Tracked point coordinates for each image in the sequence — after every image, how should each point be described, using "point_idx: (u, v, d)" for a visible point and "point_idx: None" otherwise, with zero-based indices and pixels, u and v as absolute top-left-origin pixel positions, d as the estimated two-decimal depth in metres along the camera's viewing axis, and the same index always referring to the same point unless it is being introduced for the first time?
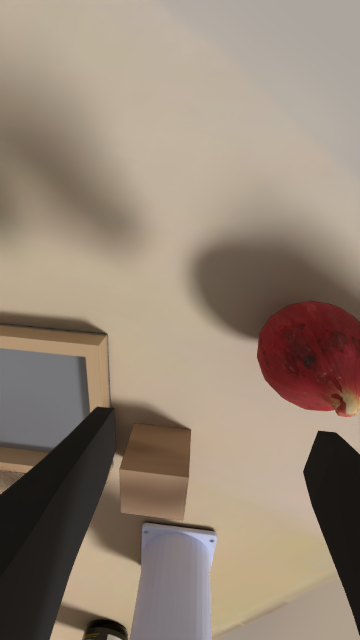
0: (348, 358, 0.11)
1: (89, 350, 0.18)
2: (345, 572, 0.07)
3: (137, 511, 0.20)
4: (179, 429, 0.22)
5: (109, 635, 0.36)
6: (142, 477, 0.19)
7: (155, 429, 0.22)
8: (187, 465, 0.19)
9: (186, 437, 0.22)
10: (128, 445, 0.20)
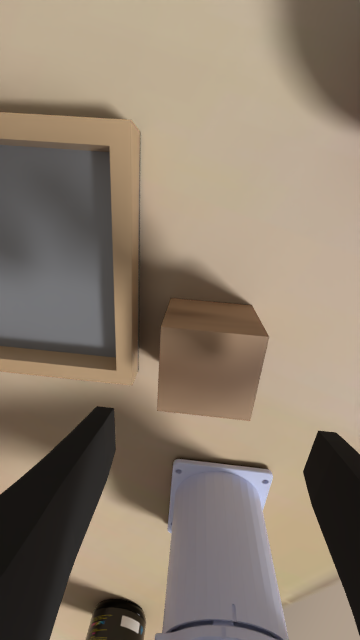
0: None
1: (116, 130, 0.11)
2: (345, 572, 0.07)
3: (182, 407, 0.14)
4: (235, 304, 0.16)
5: (123, 617, 0.30)
6: (195, 341, 0.12)
7: (202, 303, 0.16)
8: (261, 328, 0.13)
9: (248, 309, 0.15)
10: (168, 311, 0.14)
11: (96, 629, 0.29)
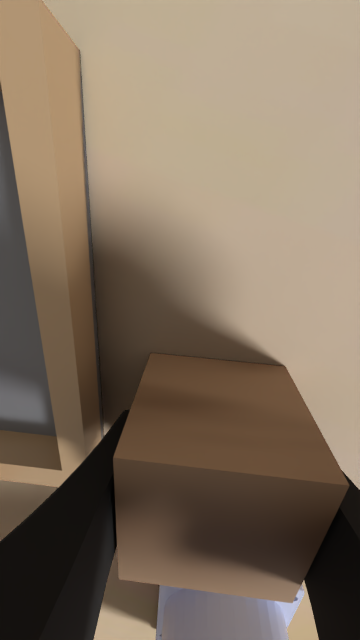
0: None
1: (8, 24, 0.05)
2: None
3: (165, 578, 0.07)
4: (258, 367, 0.09)
5: None
6: (187, 484, 0.06)
7: (202, 365, 0.09)
8: (323, 446, 0.06)
9: (283, 381, 0.09)
10: (139, 395, 0.07)
11: None
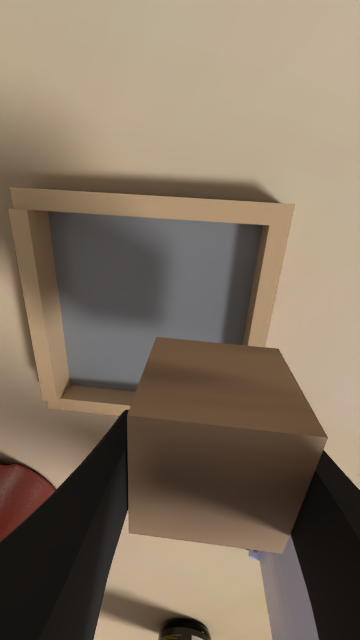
0: None
1: (279, 212, 0.12)
2: (306, 567, 0.07)
3: (170, 531, 0.08)
4: (254, 349, 0.10)
5: (193, 637, 0.31)
6: (189, 439, 0.07)
7: (203, 347, 0.10)
8: (307, 409, 0.07)
9: (276, 360, 0.10)
10: (147, 369, 0.08)
11: None
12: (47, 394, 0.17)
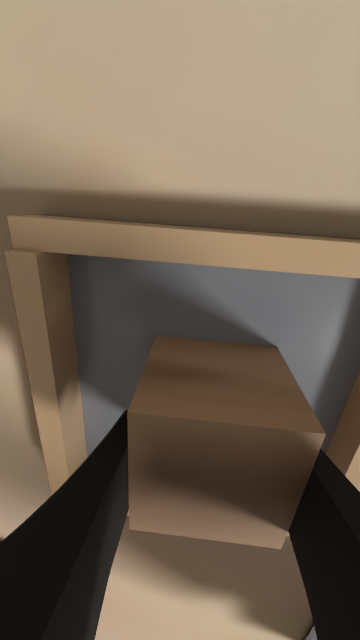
0: None
1: None
2: (305, 567, 0.07)
3: (170, 527, 0.08)
4: (253, 347, 0.10)
5: None
6: (189, 436, 0.07)
7: (202, 345, 0.10)
8: (306, 406, 0.07)
9: (275, 358, 0.10)
10: (147, 367, 0.09)
11: None
12: None
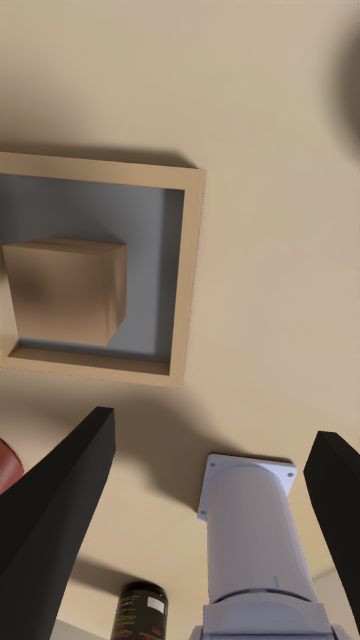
0: None
1: (192, 177, 0.14)
2: (345, 572, 0.07)
3: (41, 332, 0.14)
4: (110, 243, 0.16)
5: (149, 598, 0.32)
6: (36, 260, 0.13)
7: (77, 240, 0.16)
8: (106, 252, 0.13)
9: (117, 245, 0.16)
10: (30, 240, 0.15)
11: (125, 608, 0.32)
12: None
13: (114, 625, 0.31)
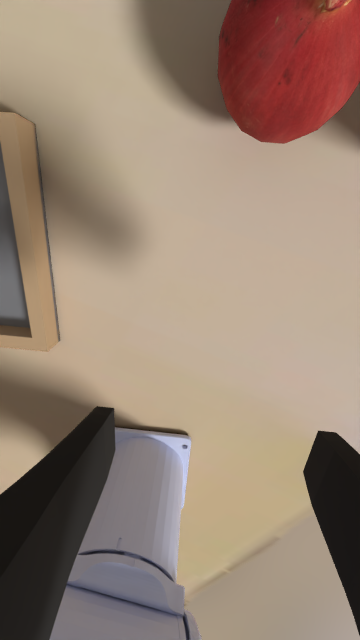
0: None
1: (3, 121, 0.13)
2: (345, 572, 0.07)
3: None
4: None
5: None
6: None
7: None
8: None
9: None
10: None
11: None
12: None
13: None
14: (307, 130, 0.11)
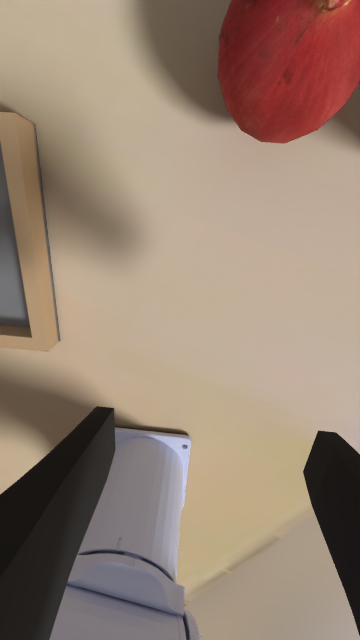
0: None
1: (3, 121, 0.13)
2: (345, 572, 0.07)
3: None
4: None
5: None
6: None
7: None
8: None
9: None
10: None
11: None
12: None
13: None
14: (307, 130, 0.11)
